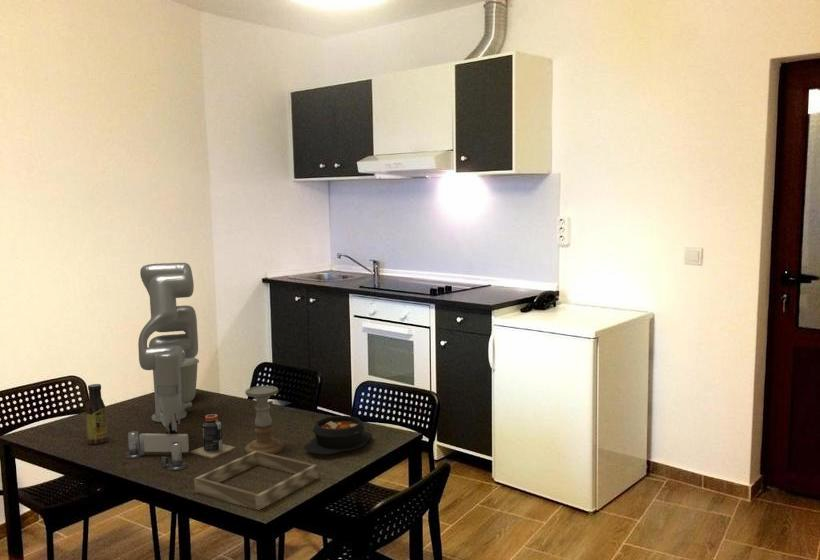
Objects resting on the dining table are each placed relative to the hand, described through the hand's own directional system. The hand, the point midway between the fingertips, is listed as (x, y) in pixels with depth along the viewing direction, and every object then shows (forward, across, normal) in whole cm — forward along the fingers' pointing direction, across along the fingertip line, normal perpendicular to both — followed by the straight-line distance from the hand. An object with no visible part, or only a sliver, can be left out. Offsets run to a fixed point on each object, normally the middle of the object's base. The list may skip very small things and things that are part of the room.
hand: (172, 443), depth 223 cm
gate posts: (+3, +6, -6) cm, 9 cm away
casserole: (+3, +24, +48) cm, 54 cm away
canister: (+4, -58, +12) cm, 60 cm away
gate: (+1, +2, -3) cm, 4 cm away
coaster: (+3, +6, +12) cm, 14 cm away
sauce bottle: (+3, -23, -21) cm, 31 cm away
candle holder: (+3, +14, +26) cm, 30 cm away
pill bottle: (+2, +6, +12) cm, 13 cm away
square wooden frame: (+2, +41, +16) cm, 44 cm away
